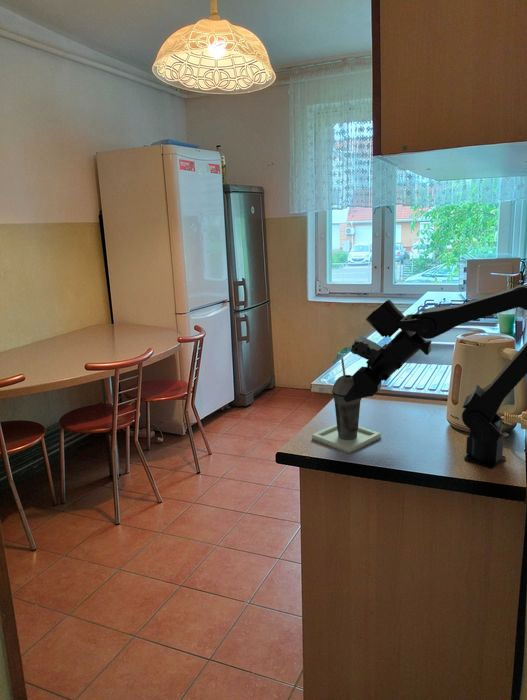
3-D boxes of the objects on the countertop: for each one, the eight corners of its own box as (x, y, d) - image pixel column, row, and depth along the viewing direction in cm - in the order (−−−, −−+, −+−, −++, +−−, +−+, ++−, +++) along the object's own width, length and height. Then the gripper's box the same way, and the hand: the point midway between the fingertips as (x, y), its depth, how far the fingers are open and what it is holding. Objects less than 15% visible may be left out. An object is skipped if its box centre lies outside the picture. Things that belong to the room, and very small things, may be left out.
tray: (380, 438, 128) (380, 433, 128) (349, 453, 121) (349, 448, 120) (343, 425, 137) (343, 420, 137) (312, 439, 129) (311, 434, 129)
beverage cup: (366, 441, 126) (366, 360, 121) (336, 443, 125) (335, 362, 120) (357, 429, 133) (357, 352, 128) (329, 432, 132) (328, 355, 127)
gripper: (382, 318, 127) (339, 359, 135) (361, 335, 111) (313, 380, 118) (415, 351, 126) (370, 391, 133) (398, 373, 109) (348, 417, 117)
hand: (350, 394), depth 125 cm, fingers open, 9 cm apart
